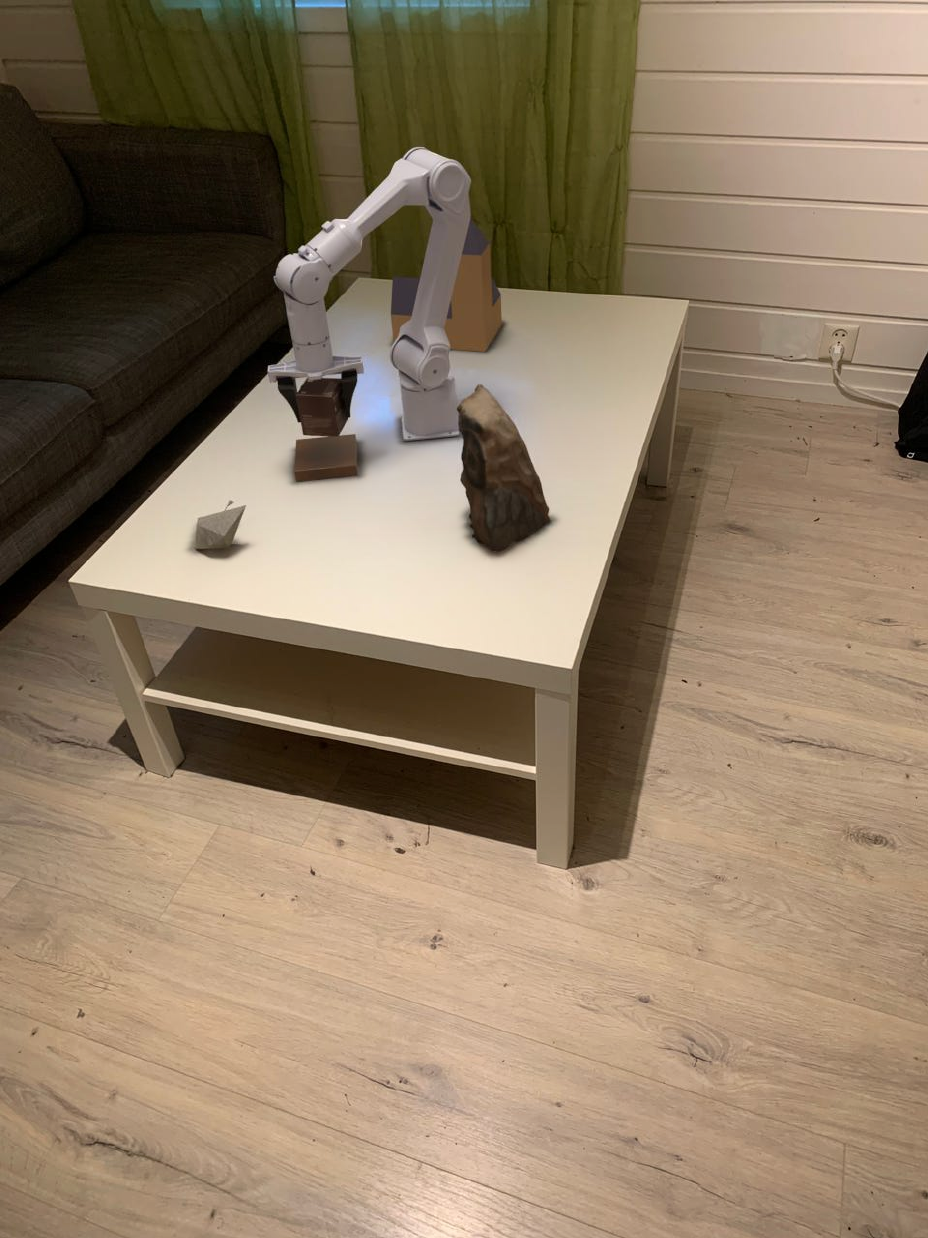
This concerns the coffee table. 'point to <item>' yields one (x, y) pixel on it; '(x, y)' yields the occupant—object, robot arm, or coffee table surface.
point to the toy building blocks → (460, 298)
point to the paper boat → (218, 528)
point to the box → (321, 407)
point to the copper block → (325, 457)
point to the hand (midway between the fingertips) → (323, 416)
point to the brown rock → (498, 474)
